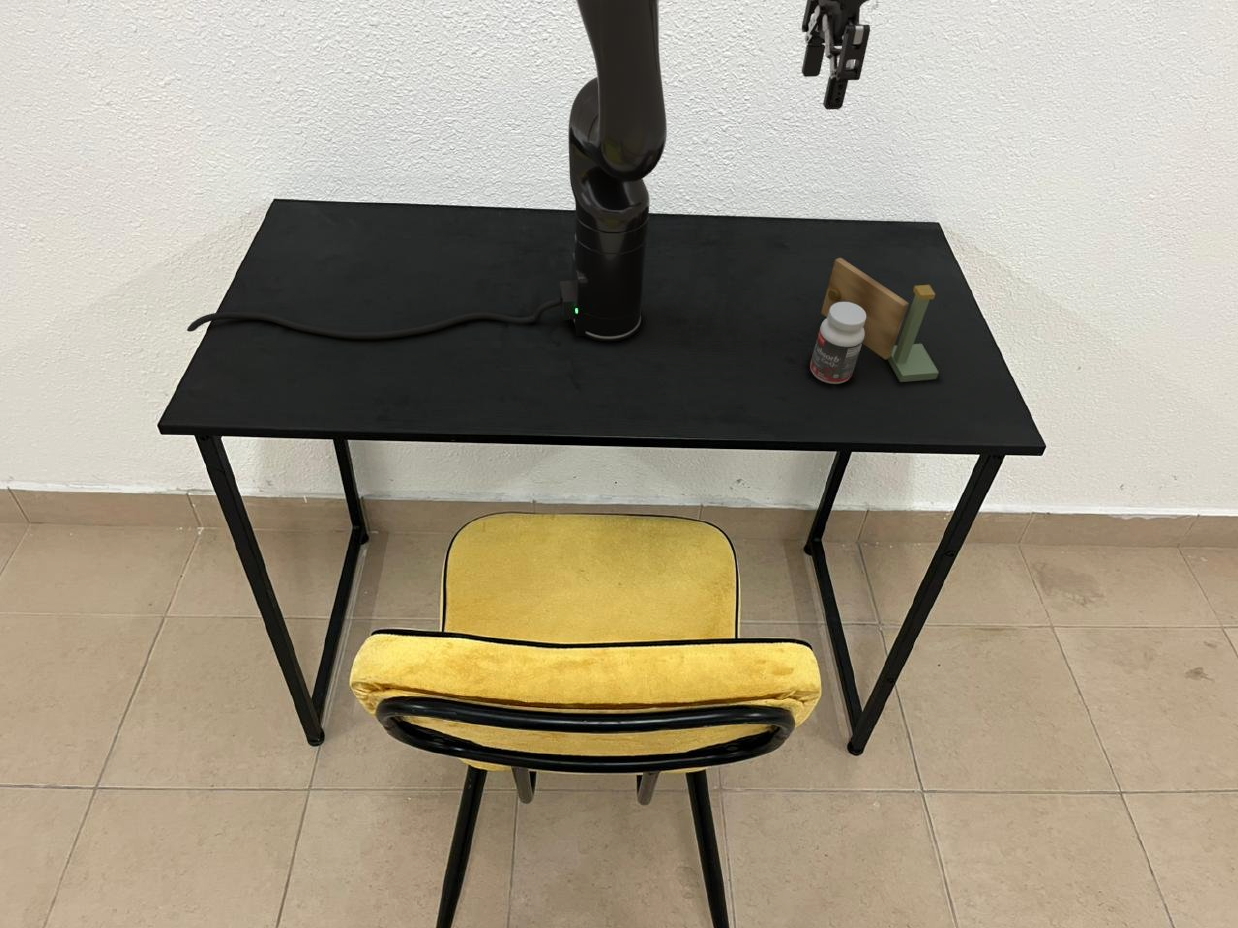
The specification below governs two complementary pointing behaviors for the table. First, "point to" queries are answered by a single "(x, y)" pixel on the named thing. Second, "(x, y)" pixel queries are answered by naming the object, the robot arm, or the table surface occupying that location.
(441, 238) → the table surface
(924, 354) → the door frame
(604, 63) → the robot arm
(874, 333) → the door
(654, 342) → the table surface
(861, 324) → the pill bottle
